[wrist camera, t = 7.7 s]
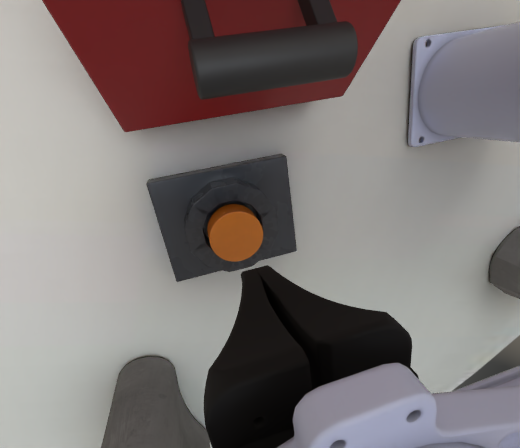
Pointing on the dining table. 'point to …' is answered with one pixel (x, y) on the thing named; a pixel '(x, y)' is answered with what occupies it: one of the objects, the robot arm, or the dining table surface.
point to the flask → (151, 410)
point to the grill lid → (217, 53)
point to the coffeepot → (507, 265)
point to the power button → (234, 232)
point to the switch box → (214, 197)
